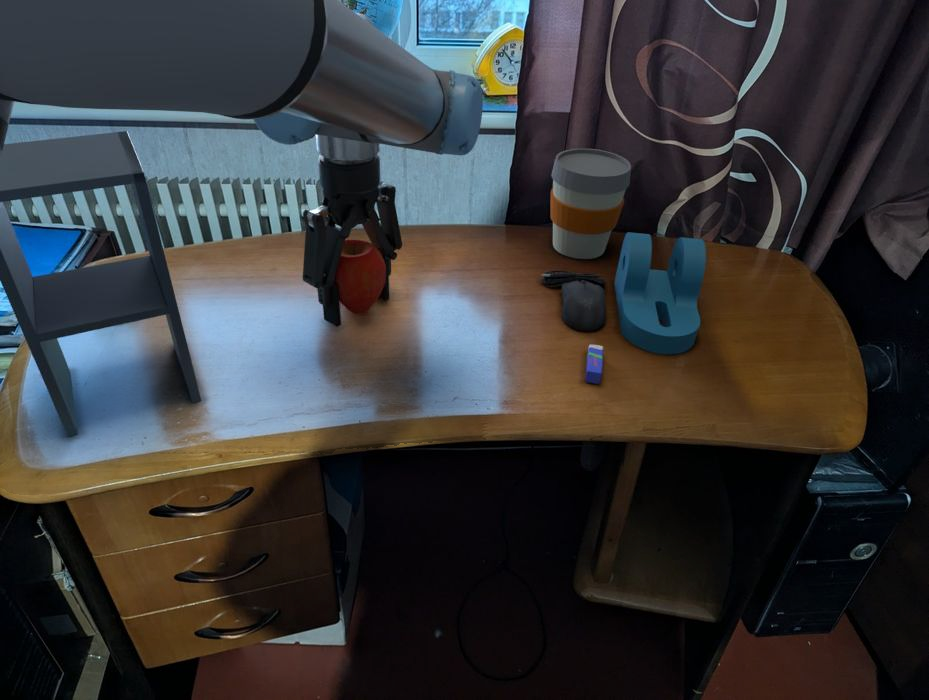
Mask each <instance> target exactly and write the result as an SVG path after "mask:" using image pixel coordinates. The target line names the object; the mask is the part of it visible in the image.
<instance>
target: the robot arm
mask: <svg viewBox="0 0 929 700" xmlns="http://www.w3.org/2000/svg"><path fill="white" fill-rule="evenodd" d="M15 103H22V104H27V105H37V106H39V105H40V106H49V107H50V106H51V107H59V108H67V109H68V108H69V109H87V110H88V109H89V110H121V111H123V110H124V111H125V110H126V111H127V110H128V111H160V112H161V111H163V112H165V111H166V112H183V113H185V112H186V113H205V114H209V115H210V114H212V115H219V116H221V117H227V118H232V119H235V120H236V119H237V120H252V121H253V122H254V124H255V125H256V126H257V128H258V129H259V130H260V131H261V132H262V133H263V134H264V136H266V137H267V138H269V139H270V140H272V141H274V142H276V143H278V144H282V145H289V146H291V145H297V144H299V143H303V142H306V141H310V140H311V139H313V138H314V137H315V140H316V150H317V153H318V154H319V156H318V157H317V166H318V175H319V176H318V177H319V184H320V186H321V189H322V192H323V198H322V201H321V205H320V206H318V207H317V208H315V209H313V210H312V209H311V208H306V209H304V211H303V212H302V217H303V221H304V225H305V234H304V235H305V236H304V248H303V253H304V254H303V264H302V265H303V267H302V281H303V282H305V283H306V284H308V285H310V286H312V287H313V288H315V289H317V290H316V291H317V300H318V303H319V304H320V305H322V310H323V312H322V313H323V319H324V320H325V321H326V322H328V323H329V324H331V325H333V326H334V327H336V328H338V327H341V326H342V317H341V316H342V315H341V304H340V303H341V302H340V301H339V288H338V284H337V283H335V282H333V281H334V278H335V274H336V271H337V267H338V263H339V260H340V256H341V253H342V249H343V246H344V242H345V240H347V239H348V238H349V237H350V236H351V232H352V229H354V228H355V227H357V226H359V225H361V226H362V227H363V230H364V231H365V234H366V236H367V237H368V239H369V241H370V243H371V244H373V245H374V246H376V248H377V249H378V250H379V252H380V253H381V255H382V257H383V260H384V262H385V265H386V277H385V284H384V287H383V289H382V292H381V294H380V296H379V297H378V299H380V300H382V301H384V302H387V301H389V300H390V276H391V275H392V261H395V260H396V259H397V258H398V253H397V252H395V251H396V250H398V251H399V250H401V249H402V247H403V241H402V235H401V230H400V229H401V228H400V224H399V218H398V213H397V207H396V193H397V189H396V187H395V186H394V185H391V184H389V183H386V182H385V181H381V158H380V156H379V155H378V154H379V153H380V150H381V149H380V145H386V146H390V147H397V148H403V149H409V150H415V151H420V152H427V153H433V154H436V155H439V156H440V155H452V156H460V157H461V156H465V155H468V154H469V153H470V152H471V151H472V150H474V147H475V145H476V143H477V141H478V137H479V134H480V130H481V124H482V118H483V106H484V95H483V88H482V85H481V83H480V81H479V80H478V78H476V77H475V76H473V75H471V74H465V73H460V72H459V73H458V72H455V71H454V70H450V69H449V70H439V69H434V68H432V67H431V66H428V65H427V64H426V63H425V62H423V61H422V60H420V59H419V58H418V57H416V56H415V55H413V54H412V53H411V52H409V51H408V50H407V49H405V48H404V47H403V46H401V45H400V44H398V43H397V42H395V41H394V40H393V39H392V38H390V37H389V36H387V35H386V34H385V33H383V32H382V31H381V30H380V29H378V28H377V27H375V23H374V21H373V20H372V19H371V18H370V17H369V16H367V15H366V14H363V13H359V12H355V11H354V10H352V9H351V8H350V7H349V6H347V5H345V4H344V3H343V2H342V1H340V0H0V158H1V154H2V150H3V146H4V144H5V142H6V138H7V134H8V129H9V124H10V120H11V117H12V113H13V108H14V104H15ZM375 206H376V208H377V210H376V209H375ZM337 226H338V227H337Z"/></svg>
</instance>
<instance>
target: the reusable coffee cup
mask: <svg viewBox="0 0 929 700" xmlns="http://www.w3.org/2000/svg"><path fill="white" fill-rule="evenodd" d="M631 173H632V164H631V162H630V161H629V160H628V159H627V158H625V157H623V156H622V155H619V154H618V153H617V154H616V153H614V152H611V151H608V150H607V151H606V150H603V149H602V150H601V149H595V148H583V147H582V148H571V149H570V148H569V149H567V150H566V149H565V150H563V151H560V152H558V153H557V154H556V156H555V158H554V163H553V167H552V171H551V174H550V176H551V179H552V188H551V189H550V220H551V222H552V247H553V249H554V250H555V251H557V253H559V254H561V255H562V256H566V257H568V258H572V259H579V260H591V259H596V258H599V257H600V256H602V255H603V254H604V252H605V251H606V249H607V246H608V242H609V240H610V237H611V234H612V231H613V230H614V229H615V228H616V227H617V224H618V221H619V218H620V216H621V212H622V209H623V207H624V203H625V197H624V196H625V194H626V193H625V192H626V190H627V189H628V188H629V187H630V183H631Z"/></svg>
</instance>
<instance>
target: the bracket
mask: <svg viewBox="0 0 929 700" xmlns="http://www.w3.org/2000/svg"><path fill="white" fill-rule="evenodd" d="M652 249H653V243H652V236H651V234H649V233H639V232H631V231H629V232H626V234H625V235H624V238H623V241H622V245H621V249H620V255H619V259H618V264H617V268H616V273H615V278H614V281H613V282H614V293H615V299H616V300H615V301H616V307H617V316H618V324H619V331H620V333H621V335H622V336H623V337H624V338H625V339H626V340H627V341H628V342H629V343H630V344H632V345H633V346H635V347H637V348H639V349H641V350H644V351H646V352H649V353H653V354H658V355H677V354H681V353H685V352H686V351H688V350H690V349H691V348H692V347H693V346H694V345H695V341H696V338H697V336H698V332H699V329H700V326H701V317H700V314H699V311H698V299H699V296H700V292H701V288H702V286H703V281H704V276H705V271H706V261H707V251H706V250H707V249H706V244H705V242H704V239H701V238H691V237H681V236H680V237H678V238H677V239H676V240H675V242H674V244H673V246H672V250H671V254H670V257H669V260H668V265H667V269H666V270H659V269H651V262H652V253H653V251H652ZM660 321H661V323H660ZM661 324H662V325H661Z"/></svg>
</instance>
